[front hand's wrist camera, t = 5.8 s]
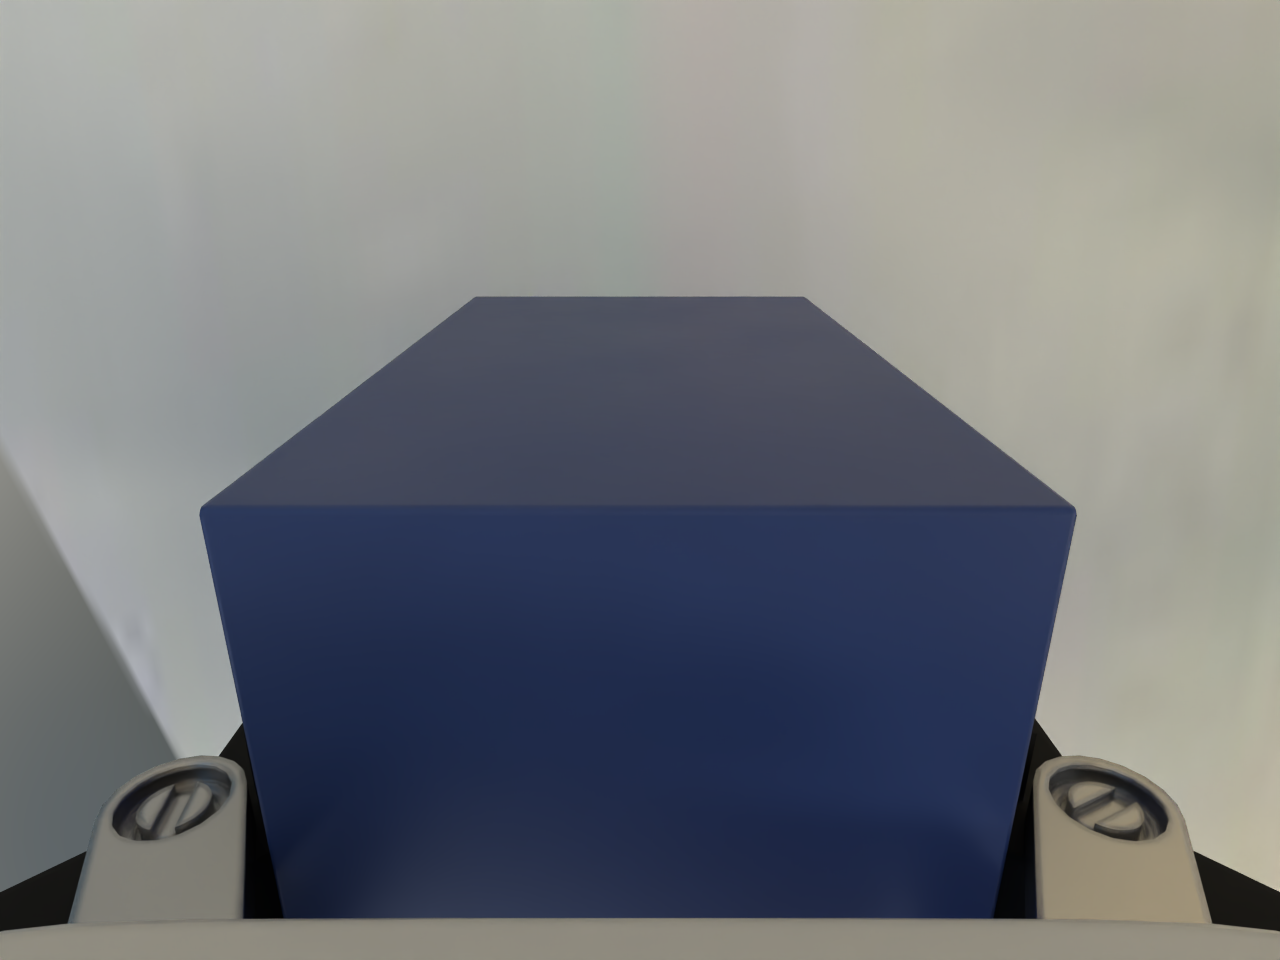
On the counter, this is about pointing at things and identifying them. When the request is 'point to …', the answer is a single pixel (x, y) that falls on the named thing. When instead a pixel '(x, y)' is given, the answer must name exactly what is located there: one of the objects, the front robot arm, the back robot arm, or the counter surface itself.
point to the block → (638, 625)
